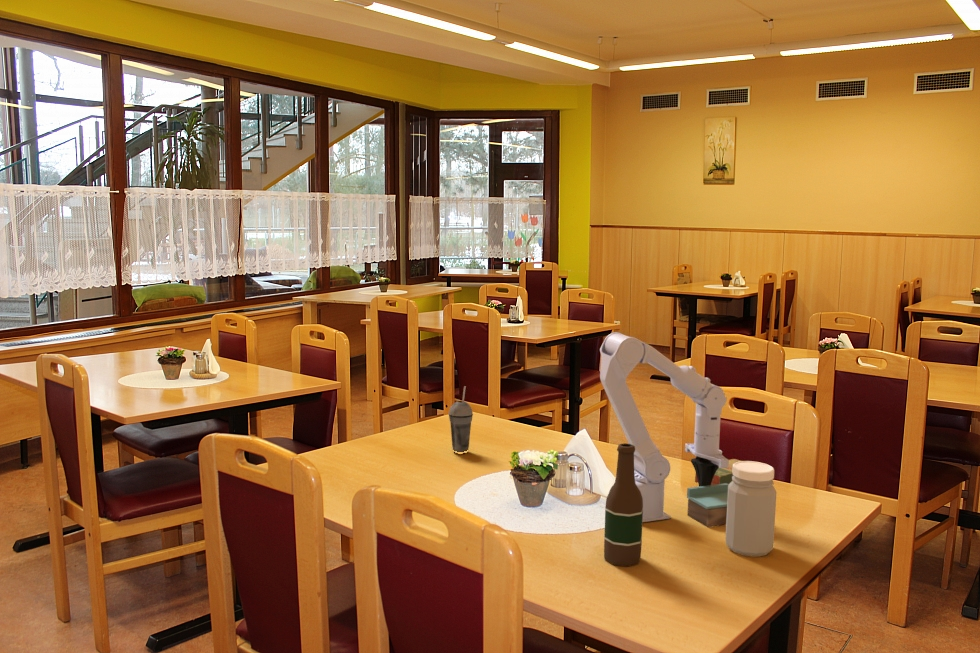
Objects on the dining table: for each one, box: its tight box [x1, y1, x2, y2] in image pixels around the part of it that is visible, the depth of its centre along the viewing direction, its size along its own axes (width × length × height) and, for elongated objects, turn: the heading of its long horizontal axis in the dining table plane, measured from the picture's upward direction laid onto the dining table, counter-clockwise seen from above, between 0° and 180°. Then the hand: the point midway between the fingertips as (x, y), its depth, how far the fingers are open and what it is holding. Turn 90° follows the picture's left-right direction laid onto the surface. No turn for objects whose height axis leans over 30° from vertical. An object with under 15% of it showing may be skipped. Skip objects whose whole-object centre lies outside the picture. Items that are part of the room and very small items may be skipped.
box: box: [687, 498, 727, 528], centre depth 184 cm, size 11×8×4 cm
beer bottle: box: [603, 442, 643, 568], centre depth 159 cm, size 8×8×24 cm
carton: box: [694, 458, 741, 485], centre depth 212 cm, size 8×16×4 cm, turn 125°
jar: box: [725, 460, 777, 558], centre depth 165 cm, size 10×10×18 cm
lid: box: [686, 483, 729, 509], centre depth 184 cm, size 11×8×2 cm
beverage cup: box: [448, 385, 474, 452], centre depth 234 cm, size 7×7×20 cm
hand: (704, 488), depth 188 cm, fingers closed
